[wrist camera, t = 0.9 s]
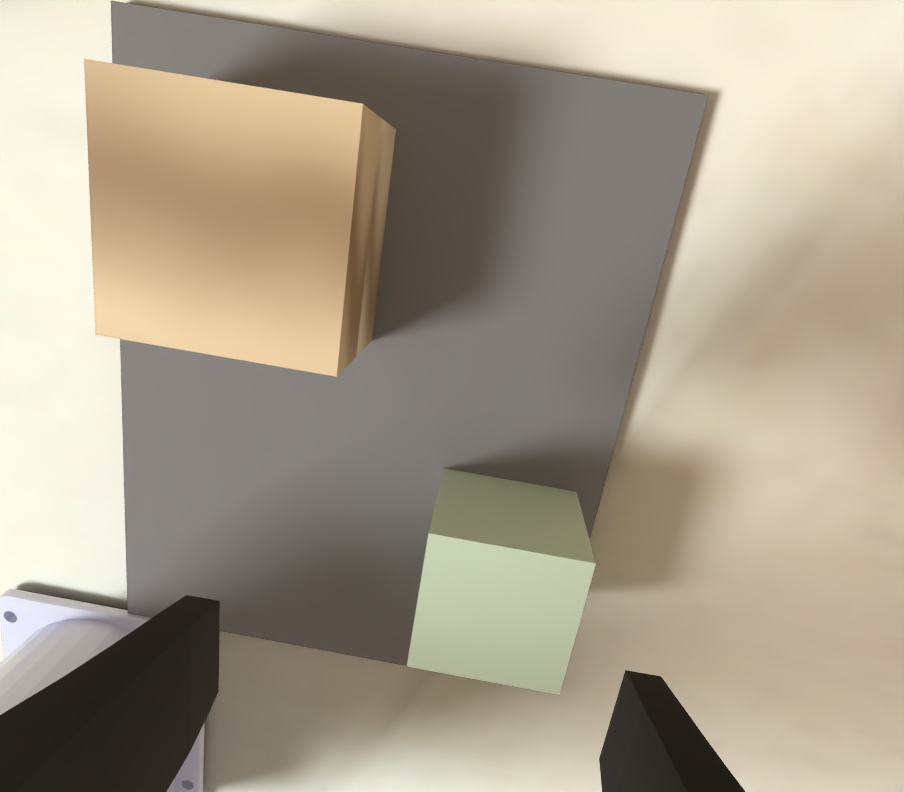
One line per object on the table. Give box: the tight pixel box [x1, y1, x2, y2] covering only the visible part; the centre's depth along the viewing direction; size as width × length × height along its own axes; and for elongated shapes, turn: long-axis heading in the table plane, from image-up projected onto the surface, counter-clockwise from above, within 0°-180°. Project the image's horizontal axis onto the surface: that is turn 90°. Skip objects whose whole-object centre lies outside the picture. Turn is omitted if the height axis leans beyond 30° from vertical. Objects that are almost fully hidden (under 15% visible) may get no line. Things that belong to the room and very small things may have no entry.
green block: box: [407, 468, 596, 695], centre depth 18 cm, size 4×4×4 cm
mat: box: [111, 1, 708, 666], centre depth 18 cm, size 20×16×1 cm
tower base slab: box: [356, 119, 396, 356], centre depth 16 cm, size 6×6×2 cm
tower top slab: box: [84, 59, 382, 377], centre depth 14 cm, size 6×6×2 cm
